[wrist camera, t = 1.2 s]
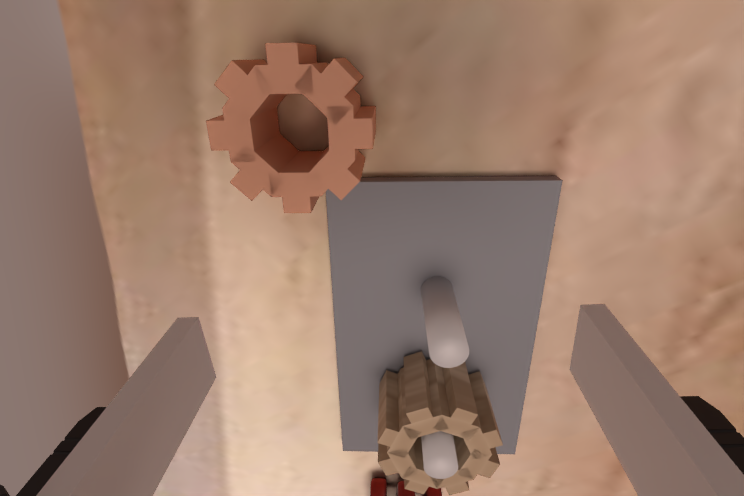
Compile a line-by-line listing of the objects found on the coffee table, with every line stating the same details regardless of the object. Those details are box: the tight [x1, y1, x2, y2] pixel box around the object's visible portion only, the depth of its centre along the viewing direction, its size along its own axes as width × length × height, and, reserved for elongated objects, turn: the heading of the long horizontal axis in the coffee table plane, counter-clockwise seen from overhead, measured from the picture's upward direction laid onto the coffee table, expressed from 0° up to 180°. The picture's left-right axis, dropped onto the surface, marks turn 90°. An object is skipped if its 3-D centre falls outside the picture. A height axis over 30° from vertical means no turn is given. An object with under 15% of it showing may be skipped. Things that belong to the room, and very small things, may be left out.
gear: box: [378, 351, 503, 495], centre depth 33 cm, size 9×9×6 cm
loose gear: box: [206, 43, 376, 213], centre depth 26 cm, size 9×9×6 cm
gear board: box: [326, 176, 562, 479], centre depth 31 cm, size 26×16×9 cm, turn 1°
